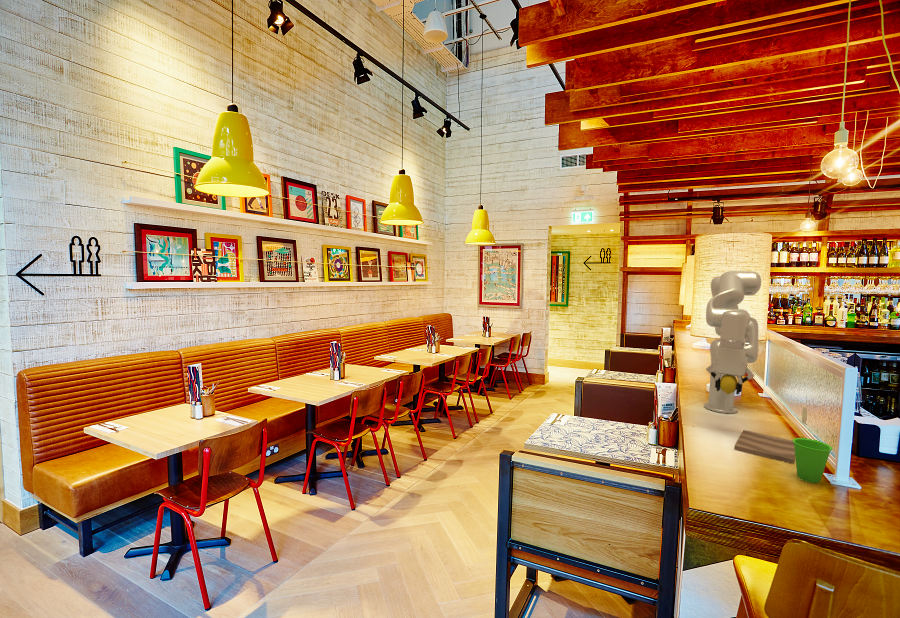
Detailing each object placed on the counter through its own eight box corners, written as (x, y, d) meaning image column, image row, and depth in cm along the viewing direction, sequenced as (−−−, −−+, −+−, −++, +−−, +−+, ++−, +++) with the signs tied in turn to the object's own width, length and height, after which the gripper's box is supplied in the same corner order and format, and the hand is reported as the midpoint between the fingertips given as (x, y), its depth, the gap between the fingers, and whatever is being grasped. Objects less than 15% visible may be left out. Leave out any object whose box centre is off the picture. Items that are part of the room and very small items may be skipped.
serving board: (743, 433, 162) (743, 429, 162) (797, 445, 152) (797, 441, 152) (734, 449, 147) (734, 445, 147) (793, 464, 137) (793, 459, 137)
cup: (788, 469, 133) (791, 435, 132) (826, 478, 128) (830, 442, 127) (790, 480, 126) (793, 444, 125) (831, 490, 120) (834, 453, 119)
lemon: (721, 391, 164) (722, 370, 163) (738, 394, 160) (740, 373, 159) (717, 394, 160) (718, 373, 159) (734, 397, 156) (736, 376, 155)
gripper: (761, 346, 155) (757, 394, 157) (707, 340, 166) (704, 385, 168) (758, 348, 150) (754, 399, 151) (703, 342, 161) (699, 389, 163)
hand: (728, 391), depth 160 cm, fingers closed on lemon, 5 cm apart
